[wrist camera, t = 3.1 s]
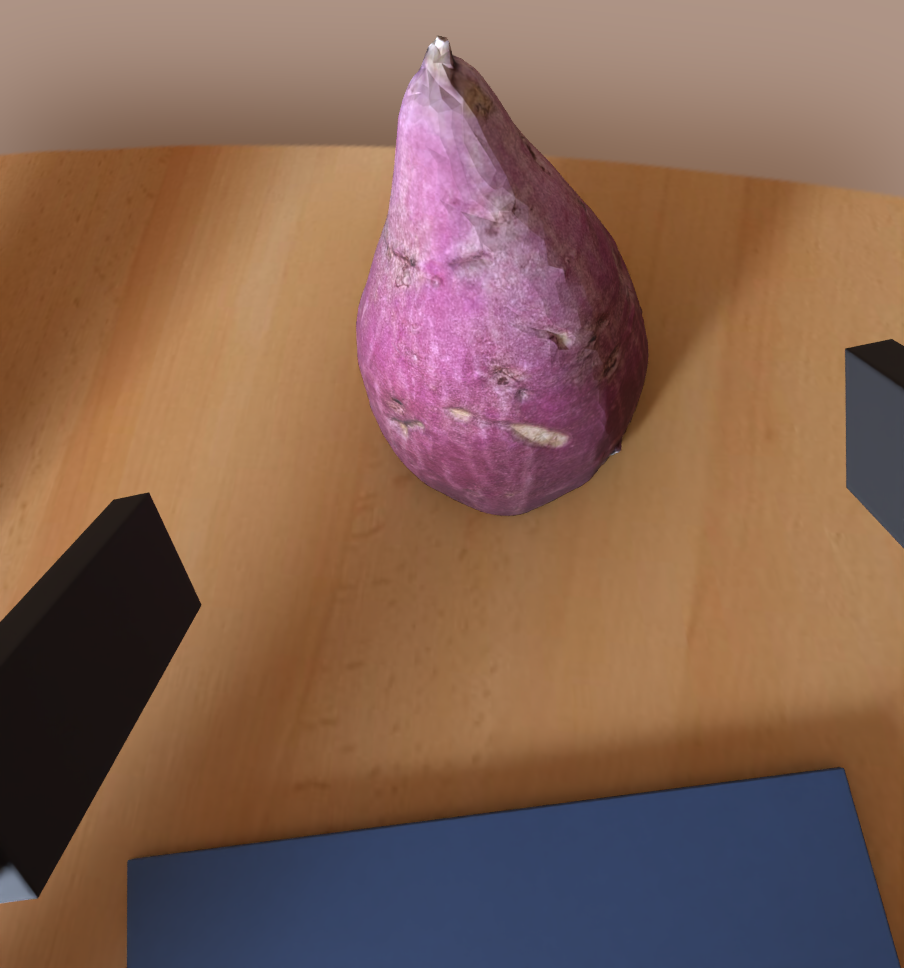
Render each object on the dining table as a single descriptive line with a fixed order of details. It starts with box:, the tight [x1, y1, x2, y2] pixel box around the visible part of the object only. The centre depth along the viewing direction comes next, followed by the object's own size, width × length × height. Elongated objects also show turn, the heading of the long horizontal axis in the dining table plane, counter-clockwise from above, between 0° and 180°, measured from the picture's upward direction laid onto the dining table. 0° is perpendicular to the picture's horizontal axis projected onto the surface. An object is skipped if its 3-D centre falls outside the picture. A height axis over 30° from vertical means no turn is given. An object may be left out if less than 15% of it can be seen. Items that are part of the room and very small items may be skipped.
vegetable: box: [356, 36, 648, 516], centre depth 24 cm, size 10×10×15 cm
